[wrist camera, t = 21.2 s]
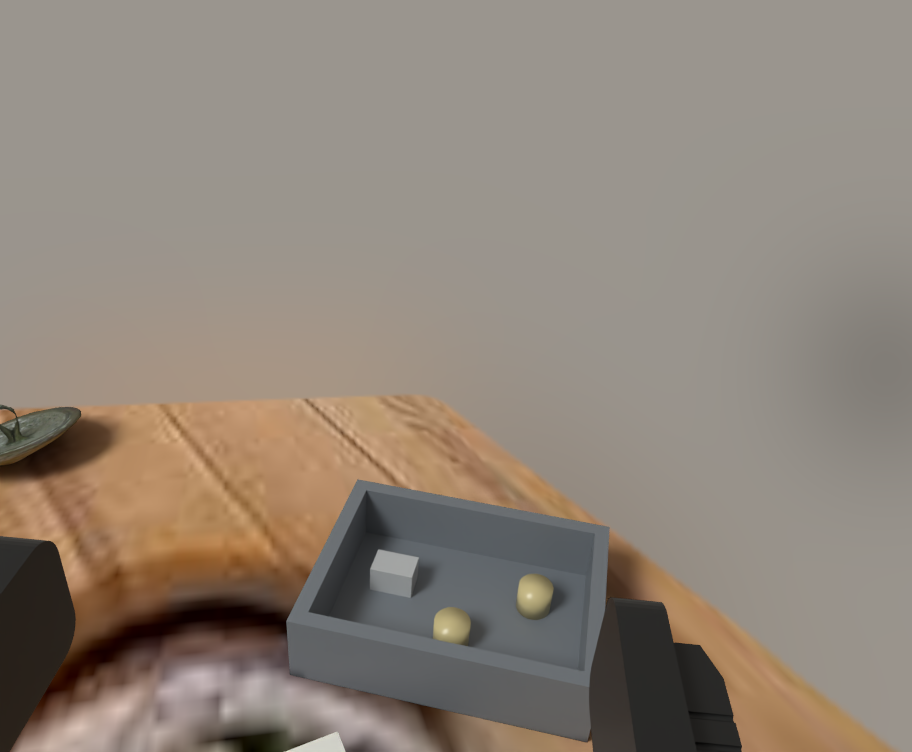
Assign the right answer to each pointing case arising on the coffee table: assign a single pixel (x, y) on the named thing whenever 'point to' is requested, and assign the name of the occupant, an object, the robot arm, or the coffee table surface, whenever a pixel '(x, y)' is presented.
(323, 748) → the tub lid
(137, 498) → the coffee table surface
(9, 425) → the lid
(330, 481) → the coffee table surface
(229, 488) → the coffee table surface
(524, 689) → the parts tub
